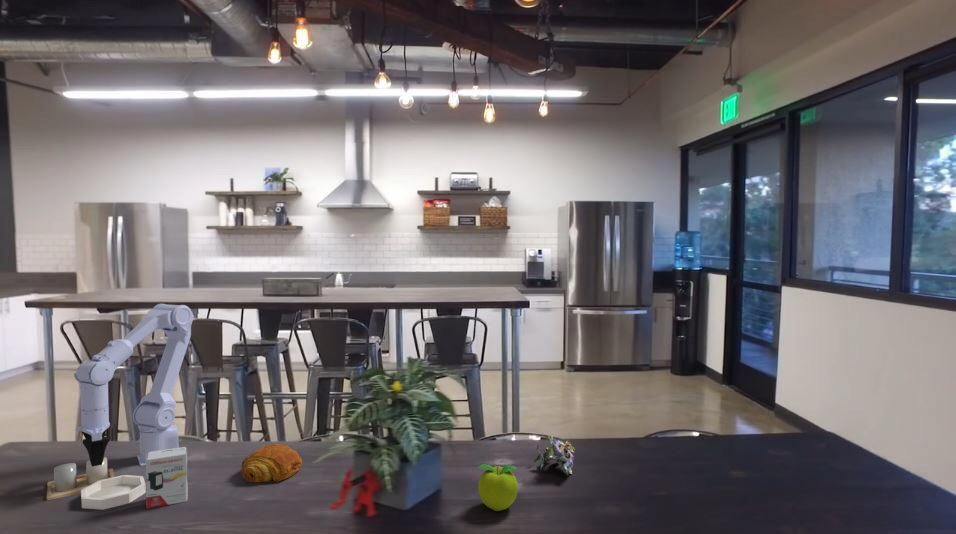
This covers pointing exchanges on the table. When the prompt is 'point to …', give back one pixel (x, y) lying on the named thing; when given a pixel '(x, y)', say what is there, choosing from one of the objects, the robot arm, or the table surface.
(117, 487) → the white octagonal dish
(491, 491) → the fruit
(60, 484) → the stone
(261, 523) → the table surface
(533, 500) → the table surface
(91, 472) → the grey rounded cylinder
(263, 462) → the croissant
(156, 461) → the ink box
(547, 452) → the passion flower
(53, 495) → the oak tray
